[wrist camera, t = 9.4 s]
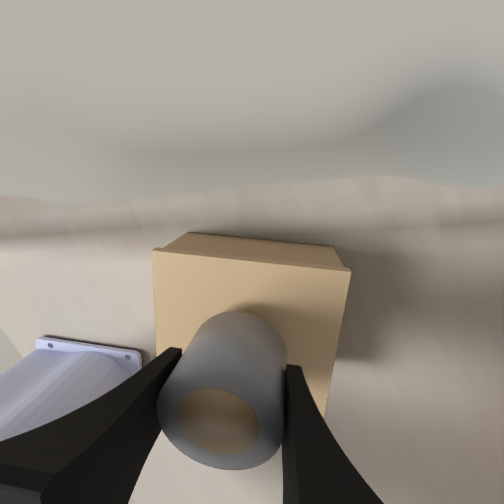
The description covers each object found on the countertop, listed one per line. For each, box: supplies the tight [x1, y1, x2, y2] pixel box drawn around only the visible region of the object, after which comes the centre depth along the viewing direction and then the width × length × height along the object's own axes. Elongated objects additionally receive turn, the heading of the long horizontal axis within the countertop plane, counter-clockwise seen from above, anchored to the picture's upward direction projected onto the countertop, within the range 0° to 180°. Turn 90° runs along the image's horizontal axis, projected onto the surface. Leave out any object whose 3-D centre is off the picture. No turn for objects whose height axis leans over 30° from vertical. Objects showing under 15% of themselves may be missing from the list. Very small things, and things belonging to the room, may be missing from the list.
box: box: [164, 232, 344, 267], centre depth 18 cm, size 10×9×4 cm
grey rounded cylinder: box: [156, 311, 287, 470], centre depth 12 cm, size 5×5×4 cm
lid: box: [151, 247, 351, 417], centre depth 15 cm, size 10×9×1 cm
